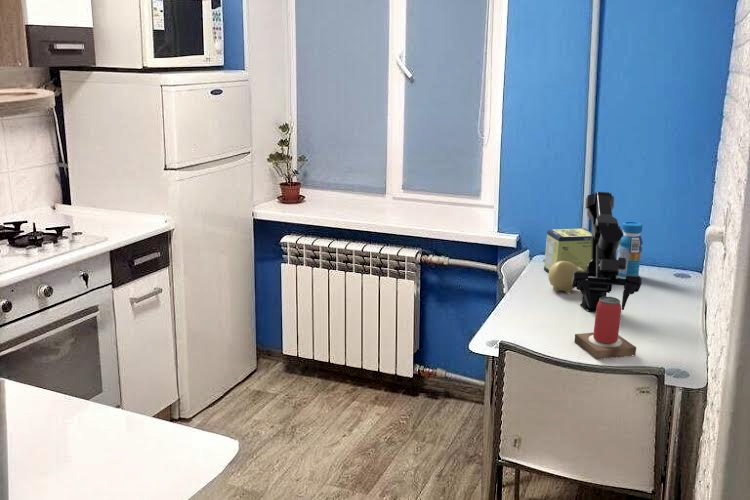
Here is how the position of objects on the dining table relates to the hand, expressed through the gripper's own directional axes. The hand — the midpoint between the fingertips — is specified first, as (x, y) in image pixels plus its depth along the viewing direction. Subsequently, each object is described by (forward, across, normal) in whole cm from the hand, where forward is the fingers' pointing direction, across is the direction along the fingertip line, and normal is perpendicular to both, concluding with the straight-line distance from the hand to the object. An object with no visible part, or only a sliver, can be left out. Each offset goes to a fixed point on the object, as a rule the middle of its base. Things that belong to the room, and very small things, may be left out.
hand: (606, 308), depth 216 cm
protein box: (-37, -6, +53) cm, 65 cm away
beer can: (+9, 0, +2) cm, 9 cm away
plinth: (+11, 0, +4) cm, 11 cm away
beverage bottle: (-38, +15, +54) cm, 67 cm away
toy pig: (-23, -8, +38) cm, 45 cm away
